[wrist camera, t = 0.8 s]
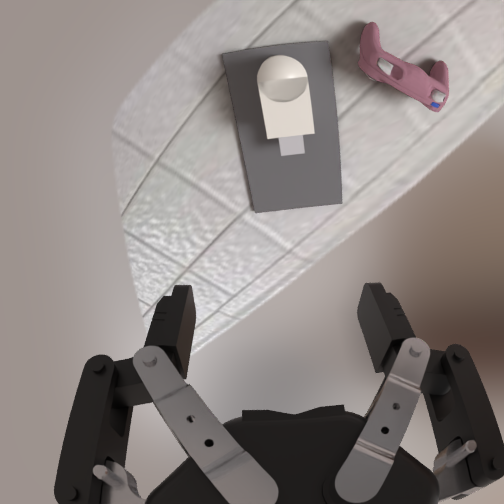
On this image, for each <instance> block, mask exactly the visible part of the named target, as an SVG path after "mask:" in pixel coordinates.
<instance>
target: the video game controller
mask: <svg viewBox="0 0 504 504" xmlns="http://www.w3.org/2000/svg"><path fill="white" fill-rule="evenodd" d="M358 66H359V67H360V68H361V70H362V71H364V72H365V73H366V75H367V77H368V78H369V79H371V80H374V81H376V80H377V81H380V82H382V83H388V84H390V85H391V86H393V87H394V88H396V89H397V90H399V91H401V92H403V93H405V94H406V95H408V96H410V97H412V98H414V99H416V100H418V101H420V102H421V103H422V104H424V105H425V106H426V107H427V108H429V109H430V110H432V111H435V112H439V111H440V110H441V108H442V107H443V106H444V105H445V103H446V101H447V99H448V96H449V76H448V68H447V65H446V64H445V63H444V62H443V61H438V62H436V63H435V64H434V66H433V67H432V69H431V72H430V76H428V75H427V74H426V73H425V72H424V71H423V70H422V69H421V68H419V67H418V66H416V65H413V64H410V63H407V62H404V61H402V60H400V59H399V58H397V57H395V56H393V55H391V54H389V53H387V52H385V51H384V50H383V49H382V48H381V45H380V38H379V29H378V26H377V24H376V23H374V22H370V23H368V24H367V25H366V26H365V27H364V29H363V32H362V34H361V39H360V60H359V62H358Z"/></svg>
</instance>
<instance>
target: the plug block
mask: <svg viewBox="0 0 504 504" xmlns="http://www.w3.org/2000/svg"><path fill="white" fill-rule="evenodd" d="M257 83H258V88H259V94H260V99H261V105H262V110H263V116H264V122H265V127H266V133H267V139H272V138H279V144H280V151H281V156H285V155H294V154H303V153H305V150H304V141H303V135H306V134H315V132H314V123H313V114H312V106H311V98H310V91H309V84H308V77H307V73H306V70H305V68H304V67H303V65H302V64H301V63H300V62H298V61H297V60H295V59H293V58H291V57H288V56H285V55H275V56H271V57H269V58H268V59H266V60H265V61H264V62H263V63H262V65H261V67H260V69H259V71H258V74H257Z"/></svg>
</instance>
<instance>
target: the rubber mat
mask: <svg viewBox="0 0 504 504" xmlns="http://www.w3.org/2000/svg"><path fill="white" fill-rule="evenodd" d="M275 55H285V56H288V57H291V58H293V59H295V60H297V61H298V62H300V63H301V64H302V65H303V67H304V68H305V70H306V73H307V77H308V84H309V91H310V98H311V106H312V114H313V123H314V132H315V134H306V135H303V141H304V150H305V153H303V154H294V155H285V156H281V151H280V144H279V138H272V139H267V133H266V127H265V122H264V116H263V110H262V105H261V99H260V94H259V88H258V83H257V74H258V71H259V69H260V67H261V65H262V63H263V62H264V61H265V60H266V59H268V58H269V57H271V56H275ZM222 56H223V61H224V66H225V70H226V75H227V80H228V84H229V89H230V94H231V99H232V103H233V108H234V113H235V118H236V122H237V127H238V132H239V137H240V142H241V146H242V151H243V156H244V161H245V166H246V171H247V176H248V181H249V186H250V191H251V196H252V201H253V205H254V210H255V213H261V212H269V211H278V210H286V209H295V208H304V207H313V206H323V205H333V204H342V181H341V161H340V145H339V131H338V119H337V108H336V98H335V89H334V80H333V72H332V65H331V57H330V50H329V44H328V41H319V42H304V43H293V44H283V45H275V46H267V47H260V48H253V49H247V50H241V51H236V52H230V53H225V54H222Z"/></svg>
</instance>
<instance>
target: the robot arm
mask: <svg viewBox="0 0 504 504" xmlns="http://www.w3.org/2000/svg"><path fill="white" fill-rule="evenodd" d="M357 314H358V320H359V323H360V326H361V329H362V332H363V334H364V338H365V341H366V344H367V347H368V350H369V353H370V356H371V359H372V362H373V366H374V369H375V372H376V373H379V372H384V374H385V378H384V379H383V382H382V384H381V386H380V388H379V390H378V392H377V394H376V396H375V398H374V400H373V402H372V404H371V406H370V407H369V409H368V411H367V413H366V414H365V416H364V417H362V416H360V415H358V414H355V413H352V412H348V411H345V409H344V405H336V406H325V407H318V408H315V409H312V410H309V411H306V412H303V413H299V414H287V413H282V412H276V411H270V410H242V417H238V418H235V419H232V420H230V421H228V422H225V423H224V424H221V423H220V422H219V421H218V419H217V418H216V417H215V416H214V414H213V413H212V412H211V410H210V409H209V408H208V407H207V405H206V404H205V403H204V402H203V400H202V399H201V398H200V396H199V395H198V394H197V393H196V391H195V390H194V388H193V387H192V386H191V385H190V384H189V385H188V384H187V383H186V382H185V381H184V379H186V378H187V372H188V365H189V359H190V353H191V346H192V340H193V334H194V329H195V323H196V309H195V303H194V297H193V291H192V286H191V285H175V286H174V289H173V292H172V296H163V298H162V299H161V300H160V301H159V302H158V303H157V306H156V309H155V312H154V315H153V318H152V321H151V325H150V328H149V331H148V335H147V338H146V341H145V345H144V347H143V348H141V349H139V351H137V352H136V353H135V355H134V357H132V358H129V359H125V360H119V361H114V362H113V360H112V359H111V358H110V357H109V356H107V355H96V356H94V357H92V358H90V359H89V360H88V361H87V362H86V364H85V366H84V369H83V372H82V375H81V379H80V382H79V385H78V389H77V392H76V395H75V399H74V403H73V406H72V410H71V413H70V417H69V421H68V425H67V429H66V433H65V438H64V441H63V446H62V450H61V455H60V460H59V465H58V470H57V475H56V481H55V486H54V495H55V498H56V500H57V502H58V503H59V504H438V502H441V501H444V500H447V499H450V498H452V499H454V500H458V499H462V498H464V497H466V496H468V495H470V494H472V493H474V492H476V491H478V490H480V489H482V488H483V487H486V486H487V485H489V484H491V483H493V482H494V481H496V480H498V479H500V478H501V477H503V476H504V443H503V440H502V437H501V433H500V430H499V427H498V424H497V421H496V418H495V415H494V413H493V410H492V407H491V404H490V401H489V399H488V396H487V394H486V391H485V389H484V386H483V383H482V381H481V379H480V376H479V374H478V372H477V369H476V367H475V365H474V362H473V360H472V358H471V356H470V353H469V352H468V351H467V349H466V348H464V347H463V346H461V345H458V344H453V345H450V346H448V348H447V349H446V351H439V350H432V349H429V347H428V345H427V344H426V343H425V342H424V341H422V340H421V339H418V338H416V336H415V334H414V333H413V330H412V328H411V326H410V324H409V322H408V320H407V317H406V316H405V313H404V311H403V309H402V308H401V305H400V303H399V301H398V300H397V298H395V297H394V296H393V295H392V294H391V293H386V292H385V289H384V287H383V285H382V284H381V283H365V285H364V287H363V291H362V294H361V298H360V301H359V305H358V310H357ZM420 393H423V395H424V398H425V401H426V405H427V409H428V412H429V416H430V419H431V423H432V427H433V431H434V435H435V439H436V443H437V448H438V452H439V453H438V454H437V456H436V457H435V460H434V467H433V472H432V471H431V470H429V469H428V468H427V467H426V466H424V465H423V464H422V463H420V462H419V461H418V460H417V459H415V458H414V457H413V456H412V455H410V454H409V453H408V452H407V451H405V450H404V449H403V448H402V447H400V446H399V445H400V443H401V441H402V439H403V436H404V434H405V432H406V430H407V427H408V425H409V422H410V420H411V417H412V415H413V412H414V410H415V407H416V404H417V402H418V399H419V396H420ZM151 402H153V403H154V405H155V407H156V408H157V410H158V411H159V413H160V415H161V416H162V418H163V419H164V421H165V423H166V424H167V426H168V427H169V429H170V430H171V432H172V433H173V435H174V437H175V438H176V440H177V441H178V443H179V444H180V446H181V447H182V448H183V450H184V451H185V453H186V454H187V456H188V458H187V459H186V460H185V461H184V462H183V463H182V464H181V465H180V466H179V467H178V468H177V469H176V470H175V471H174V472H173V473H171V474H170V475H169V476H168V477H167V478H166V479H165V480H164V481H163V482H162V483H161V484H160V485H159V486H158V487H156V488H155V489H154V490H153V491H152V492H151V493H150V495H149V496H148V498H147V499H146V500H144V499H142V498H141V496H140V495H139V493H138V490H137V483H136V480H135V478H134V476H133V475H132V474H131V473H129V472H128V471H126V470H125V460H126V453H127V452H126V451H127V445H128V438H129V431H130V424H131V418H132V412H133V406H135V405H140V404H145V403H151Z"/></svg>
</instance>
